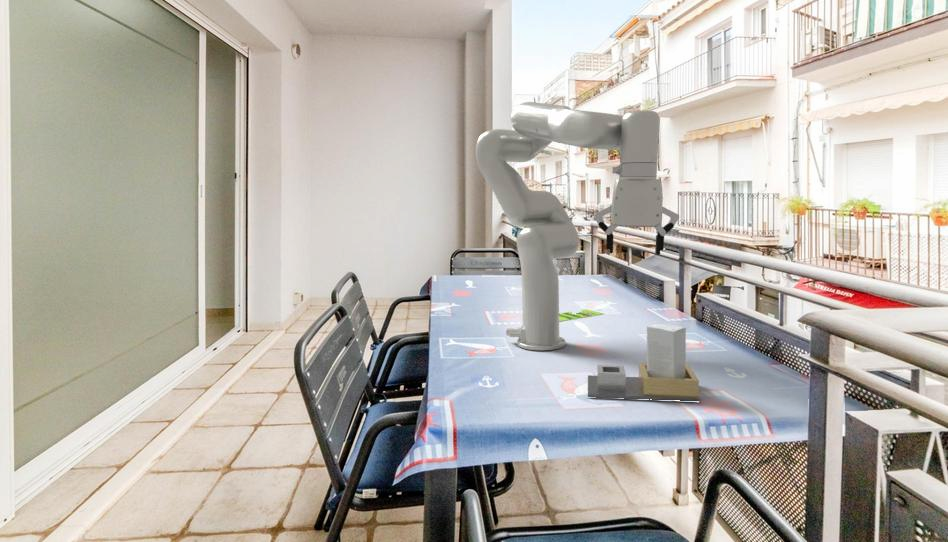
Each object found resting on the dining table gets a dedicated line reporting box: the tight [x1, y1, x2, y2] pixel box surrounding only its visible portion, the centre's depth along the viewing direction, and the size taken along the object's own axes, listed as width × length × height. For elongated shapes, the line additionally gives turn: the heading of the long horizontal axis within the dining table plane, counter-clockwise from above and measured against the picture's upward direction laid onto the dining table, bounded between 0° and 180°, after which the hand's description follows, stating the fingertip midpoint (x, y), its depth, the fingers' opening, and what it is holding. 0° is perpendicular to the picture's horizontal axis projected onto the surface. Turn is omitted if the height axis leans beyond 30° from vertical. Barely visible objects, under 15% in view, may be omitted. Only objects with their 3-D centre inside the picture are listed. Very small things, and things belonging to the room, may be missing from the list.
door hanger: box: [559, 309, 604, 323], centre depth 171 cm, size 9×1×25 cm
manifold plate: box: [587, 362, 701, 402], centre depth 103 cm, size 20×11×4 cm, turn 78°
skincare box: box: [646, 323, 687, 378], centre depth 101 cm, size 6×4×12 cm
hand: (634, 253), depth 113 cm, fingers open, 9 cm apart
